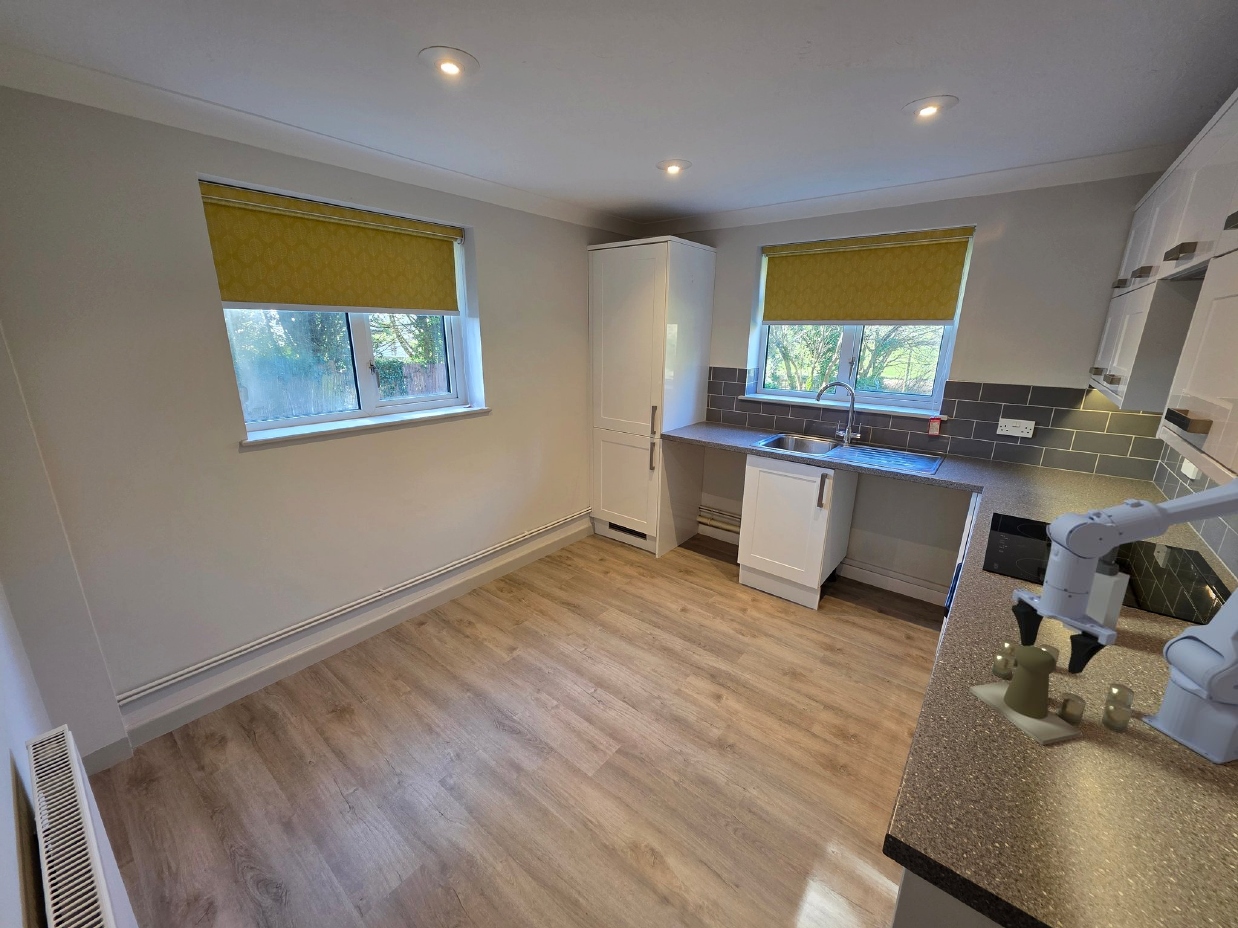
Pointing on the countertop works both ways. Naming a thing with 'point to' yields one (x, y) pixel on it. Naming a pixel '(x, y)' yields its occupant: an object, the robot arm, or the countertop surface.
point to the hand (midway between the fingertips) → (1050, 657)
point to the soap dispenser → (1106, 592)
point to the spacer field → (1071, 704)
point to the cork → (1030, 682)
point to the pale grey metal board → (1036, 728)
